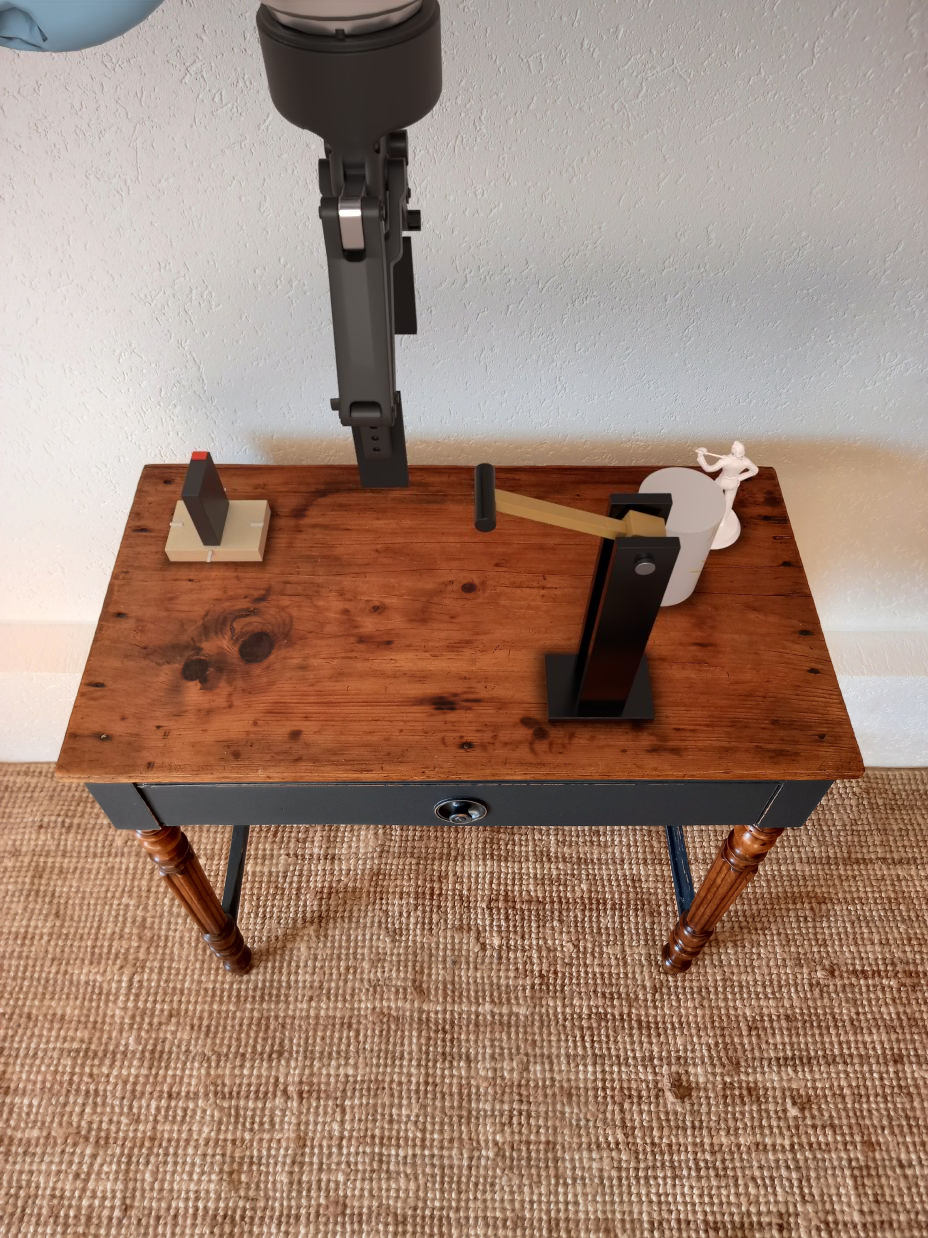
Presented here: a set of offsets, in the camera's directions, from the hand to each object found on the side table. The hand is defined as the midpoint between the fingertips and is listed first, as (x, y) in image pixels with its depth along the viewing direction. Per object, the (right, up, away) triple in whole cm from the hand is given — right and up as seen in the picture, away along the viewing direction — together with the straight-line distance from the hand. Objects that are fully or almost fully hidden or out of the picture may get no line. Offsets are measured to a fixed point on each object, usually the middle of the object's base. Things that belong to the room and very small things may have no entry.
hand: (391, 401), depth 50 cm
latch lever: (+12, -7, +7) cm, 15 cm away
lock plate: (-22, -4, +39) cm, 45 cm away
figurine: (+32, -3, +39) cm, 50 cm away
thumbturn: (-22, -3, +37) cm, 43 cm away
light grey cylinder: (+25, -9, +35) cm, 44 cm away
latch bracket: (+17, -21, +28) cm, 39 cm away
